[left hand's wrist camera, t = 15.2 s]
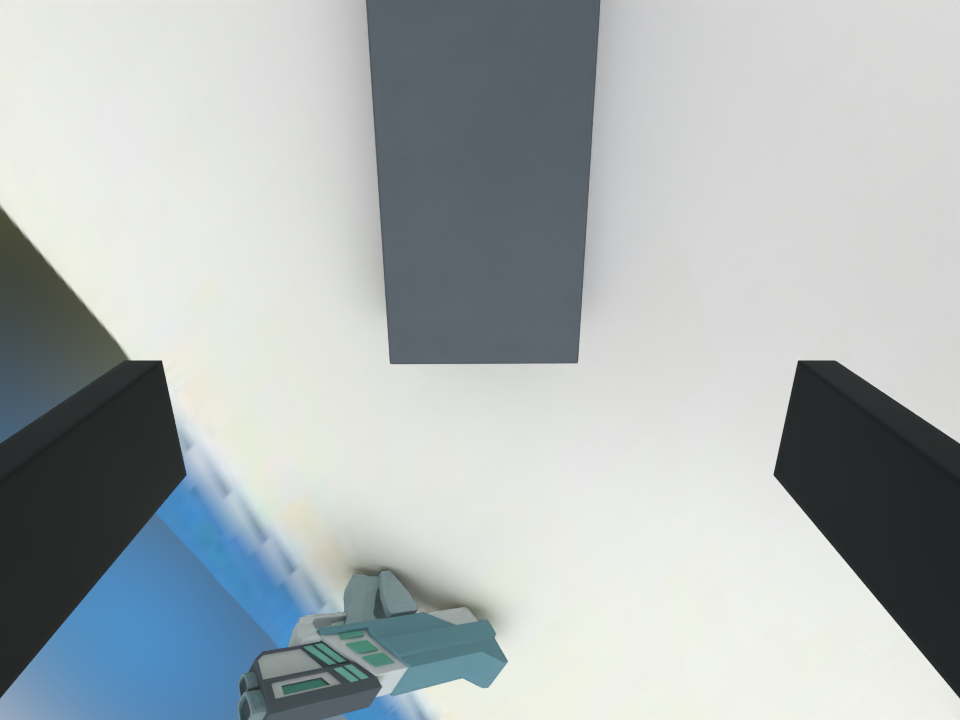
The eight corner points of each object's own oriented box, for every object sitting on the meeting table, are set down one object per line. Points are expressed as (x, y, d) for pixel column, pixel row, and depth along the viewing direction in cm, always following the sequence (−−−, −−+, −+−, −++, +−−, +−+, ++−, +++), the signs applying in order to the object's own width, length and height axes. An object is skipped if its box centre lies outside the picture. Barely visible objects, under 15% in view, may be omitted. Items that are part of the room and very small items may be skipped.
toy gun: (226, 571, 38) (263, 720, 32) (451, 554, 51) (512, 658, 44) (207, 610, 40) (239, 761, 33) (432, 584, 52) (488, 689, 45)
